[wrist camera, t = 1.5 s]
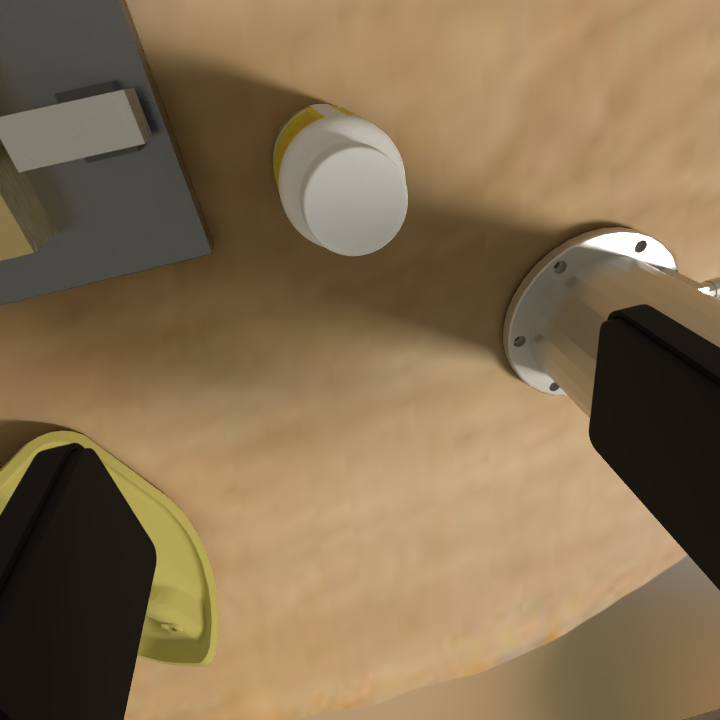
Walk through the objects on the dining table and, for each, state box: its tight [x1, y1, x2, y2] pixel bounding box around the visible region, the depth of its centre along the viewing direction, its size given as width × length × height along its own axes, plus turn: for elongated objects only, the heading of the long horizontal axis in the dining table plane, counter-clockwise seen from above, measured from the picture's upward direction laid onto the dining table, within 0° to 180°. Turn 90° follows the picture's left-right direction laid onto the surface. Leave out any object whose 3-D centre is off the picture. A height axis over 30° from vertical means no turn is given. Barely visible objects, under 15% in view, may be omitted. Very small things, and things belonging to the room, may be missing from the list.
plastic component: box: [0, 431, 219, 666], centre depth 35 cm, size 20×7×10 cm
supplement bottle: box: [272, 104, 408, 256], centre depth 22 cm, size 5×5×10 cm
